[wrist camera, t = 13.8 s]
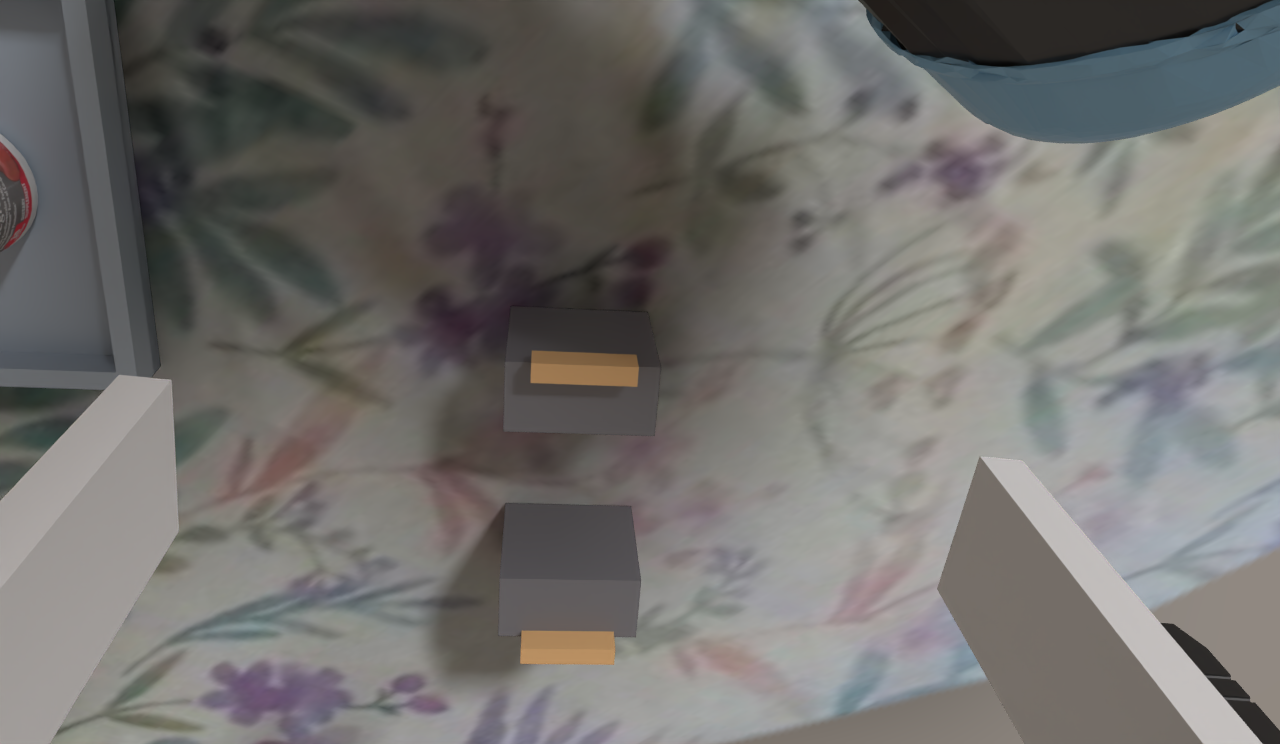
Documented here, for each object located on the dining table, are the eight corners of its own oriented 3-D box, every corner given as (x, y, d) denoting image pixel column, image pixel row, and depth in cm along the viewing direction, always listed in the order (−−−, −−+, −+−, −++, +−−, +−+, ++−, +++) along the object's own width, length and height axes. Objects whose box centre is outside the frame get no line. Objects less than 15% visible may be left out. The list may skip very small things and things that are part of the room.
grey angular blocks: (510, 295, 44) (503, 362, 37) (648, 301, 44) (665, 368, 38) (504, 564, 49) (496, 663, 43) (626, 566, 50) (636, 664, 43)
